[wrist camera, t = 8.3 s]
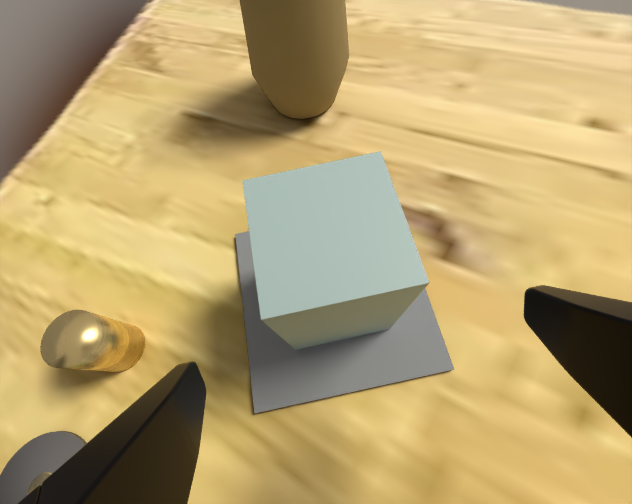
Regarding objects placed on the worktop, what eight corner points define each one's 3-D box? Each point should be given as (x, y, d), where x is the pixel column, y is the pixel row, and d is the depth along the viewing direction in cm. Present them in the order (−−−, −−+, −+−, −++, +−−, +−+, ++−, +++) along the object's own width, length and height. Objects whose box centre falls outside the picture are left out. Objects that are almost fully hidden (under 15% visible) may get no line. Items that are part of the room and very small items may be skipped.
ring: (63, 564, 16) (59, 568, 16) (-25, 534, 17) (-31, 537, 17) (111, 443, 19) (108, 444, 18) (31, 421, 19) (26, 422, 19)
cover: (389, 329, 20) (429, 282, 11) (295, 350, 20) (261, 319, 11) (364, 244, 22) (380, 151, 13) (280, 262, 22) (242, 180, 13)
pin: (133, 376, 20) (79, 373, 16) (92, 366, 20) (29, 361, 16) (152, 329, 21) (106, 315, 17) (112, 321, 21) (59, 305, 17)
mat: (452, 369, 19) (454, 369, 18) (256, 413, 19) (254, 413, 18) (392, 203, 24) (393, 200, 23) (236, 236, 23) (235, 234, 23)
